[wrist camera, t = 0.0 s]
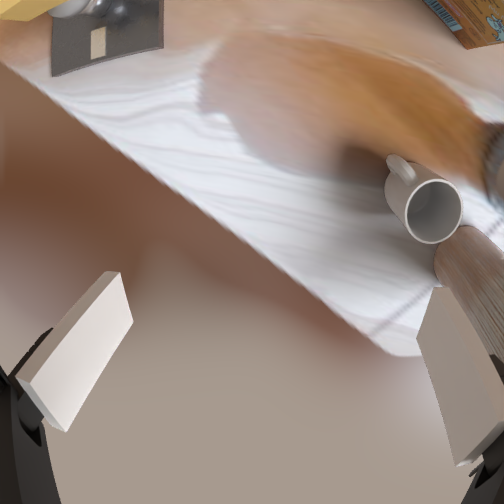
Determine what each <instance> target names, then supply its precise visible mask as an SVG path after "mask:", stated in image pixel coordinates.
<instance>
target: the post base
mask: <svg viewBox="0 0 504 504" xmlns="http://www.w3.org/2000/svg"><path fill="white" fill-rule="evenodd" d="M163 17H164V0H91V1H90V3H89V4H88V5H87V7H86V8H85V9H84V10H83V11H82V12H81V13H79V14H78V15H76V16H74V17H72V18H69V19H64V18H58V17H53V31H52V77H57V76H61V75H64V74H67V73H69V72H72V71H75V70H78V69H81V68H85V67H88V66H91V65H94V64H98V63H101V62H105V61H109V60H112V59H116V58H120V57H124V56H128V55H133V54H137V53H142V52H146V51H151V50H156V49H162V48H164V40H163Z"/></svg>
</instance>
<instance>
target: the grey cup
mask: <svg viewBox="0 0 504 504" xmlns="http://www.w3.org/2000/svg"><path fill="white" fill-rule="evenodd" d="M386 163H387V166H388V168H389V169H390V171H391V172H390V173H389V175H388V177H387V179H386V182H385V186H384V194H385V198H386V201H387V203H388V205H389V207H390V208H391V210H392V211H393V212H394V213H395V215H396V216H397V217H398V218H399V220H400V221H401V222H402V224H403V225H404V226H405V227H406V229H407V230H408V231H409V233H410V234H411V235H412V236H413V237H414V238H415V239H416V240H418V241H420V242H422V243H426V244H436V243H439V242H442V241H444V240H446V239H447V238H449V237H450V236H451V235H452V234H453V233H454V232H455V231H456V229H457V227H458V226H459V224H460V221H461V219H462V215H463V201H462V198H461V195H460V192H459V191H458V190H457V188H456V187H455V186H454V185H453V184H451V183H450V182H449V181H447V180H446V179H444V178H442V177H441V176H439V175H437V174H436V173H434V172H432V171H431V170H429V169H427V168H426V167H424V166H422V165H420V164H417V163H410V162H406V161H405V160H404V159H402V158H401V157H399V156H398V155H396V154H390V155H388V157H387V159H386Z"/></svg>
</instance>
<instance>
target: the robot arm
mask: <svg viewBox="0 0 504 504" xmlns="http://www.w3.org/2000/svg"><path fill="white" fill-rule="evenodd" d="M132 323H133V319H132V316H131V312H130V309H129V305H128V302H127V298H126V294H125V291H124V287H123V283H122V279H121V275H120V272H110V271H105V272H104V273H103V274H102V276H101V277H100V278H99V279H98V280H97V281H96V282H95V283H94V284H93V285H92V286H91V287H90V288H89V289H88V290H87V291H86V293H85V294H84V295H83V296H82V297H81V298H80V299H79V300H78V301H77V302H76V304H75V305H74V306H73V307H72V308H71V309H70V310H69V311H68V313H67V314H66V315H65V316H64V317H63V318H62V320H61V321H60V322H59V323H58V324H57V325H56V326H55V328H51V329H49V330H48V331H46V332H45V333H43V334H42V335H41V336H40V337H39V338H38V340H37V341H36V342H35V345H33V346H32V347H31V348H30V349H29V352H27V353H26V354H25V355H24V356H23V358H22V359H21V360H20V361H19V363H18V364H17V365H16V367H15V368H14V369H13V370H12V372H11V373H10V374H9V375H8V376H7V375H6V374H5V372H4V370H3V369H2V367H1V366H0V504H61V501H60V498H59V494H58V491H57V487H56V483H55V479H54V475H53V471H52V467H51V462H50V457H49V452H48V447H47V441H46V435H45V429H44V426H43V424H42V422H41V421H42V419H43V418H44V417H45V418H46V419H47V421H48V422H49V423H50V425H51V426H53V427H55V428H58V429H60V430H62V431H64V432H67V430H68V429H69V427H70V425H71V423H72V422H73V419H74V418H75V416H76V414H77V413H78V411H79V409H80V407H81V406H82V404H83V403H84V401H85V399H86V397H87V396H88V394H89V392H90V391H91V389H92V387H93V386H94V384H95V382H96V381H97V379H98V377H99V376H100V374H101V372H102V371H103V369H104V367H105V366H106V364H107V363H108V361H109V359H110V358H111V356H112V354H113V353H114V351H115V350H116V348H117V347H118V345H119V344H120V342H121V340H122V339H123V337H124V336H125V334H126V333H127V331H128V330H129V328H130V326H131V325H132ZM416 339H417V342H418V344H419V347H420V350H421V353H422V355H423V358H424V361H425V364H426V367H427V369H428V372H429V375H430V378H431V381H432V384H433V387H434V390H435V393H436V397H437V400H438V403H439V407H440V410H441V413H442V417H443V420H444V424H445V427H446V431H447V435H448V439H449V443H450V446H451V451H452V455H453V459H454V464H455V467H458V466H462V465H466V464H469V463H473V462H474V461H475V460H476V459H477V458H478V457H479V456H480V455H481V454H482V455H483V459H484V461H483V462H482V463H481V464H479V465H478V466H477V467H476V468H475V469H474V470H473V471H472V472H471V473H470V475H469V477H471V476H472V475H474V474H475V473H476V472H477V473H476V475H475V477H474V479H473V481H472V483H471V485H470V487H469V489H468V491H467V493H466V495H465V497H464V499H463V501H462V503H461V504H504V363H503V362H502V361H501V360H500V359H499V358H498V357H497V356H496V355H495V354H492V355H488V353H487V351H486V349H485V347H484V345H483V344H482V342H481V340H480V338H479V336H478V335H477V333H476V331H475V329H474V328H473V326H472V324H471V322H470V321H469V319H468V317H467V316H466V314H465V312H464V311H463V309H462V307H461V306H460V304H459V303H458V301H457V299H456V298H455V296H454V295H453V293H452V292H451V290H450V288H449V287H434V288H433V291H432V294H431V298H430V301H429V304H428V307H427V310H426V313H425V316H424V318H423V321H422V324H421V327H420V330H419V332H418V335H417V338H416Z"/></svg>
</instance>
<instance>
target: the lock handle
mask: <svg viewBox="0 0 504 504" xmlns="http://www.w3.org/2000/svg"><path fill="white" fill-rule="evenodd" d="M90 1H91V0H0V19H3V20H17V21H30V20H31V19H33V18H35V17H37V16H39V15H40V14H42V13H44V12H46V11H47V12H48V14H49V15H51V16H53V17H58V18H64V19H69V18H72V17H74V16H76V15H78V14H79V13H81V12H82V11H83V10H84V9H85V8H86V7H87V5H88V4H89V3H90Z"/></svg>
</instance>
